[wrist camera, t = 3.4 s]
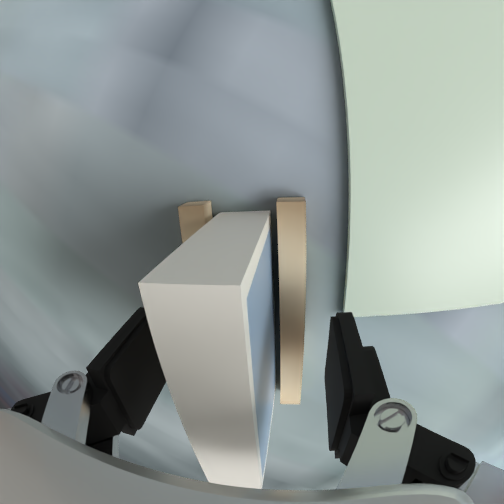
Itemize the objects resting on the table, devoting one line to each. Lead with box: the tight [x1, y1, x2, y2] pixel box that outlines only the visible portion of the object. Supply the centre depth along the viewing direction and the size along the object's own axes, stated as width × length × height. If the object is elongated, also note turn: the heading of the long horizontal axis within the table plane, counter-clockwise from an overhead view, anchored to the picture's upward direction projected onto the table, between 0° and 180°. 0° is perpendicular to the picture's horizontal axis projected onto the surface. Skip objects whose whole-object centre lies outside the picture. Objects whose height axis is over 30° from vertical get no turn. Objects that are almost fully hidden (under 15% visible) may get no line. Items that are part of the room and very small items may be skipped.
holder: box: [178, 197, 306, 404], centre depth 12 cm, size 10×5×1 cm, turn 4°
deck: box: [138, 211, 276, 489], centre depth 9 cm, size 9×2×6 cm, turn 4°
